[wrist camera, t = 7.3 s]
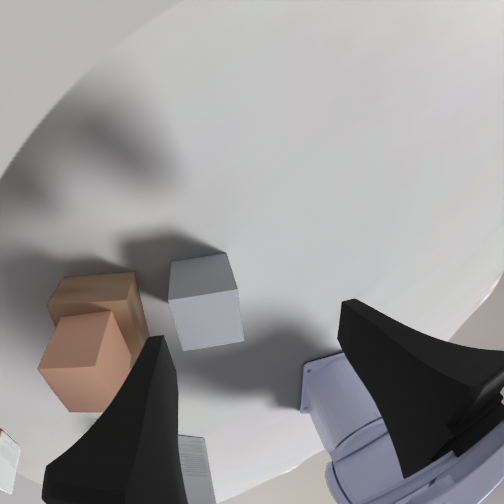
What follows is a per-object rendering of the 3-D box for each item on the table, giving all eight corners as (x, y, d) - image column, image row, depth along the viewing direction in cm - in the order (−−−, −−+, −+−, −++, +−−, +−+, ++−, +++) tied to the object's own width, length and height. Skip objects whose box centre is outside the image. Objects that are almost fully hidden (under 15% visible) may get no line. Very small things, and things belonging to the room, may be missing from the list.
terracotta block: (131, 355, 18) (124, 411, 14) (84, 359, 18) (69, 412, 13) (111, 310, 17) (95, 366, 12) (61, 317, 16) (37, 368, 12)
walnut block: (149, 333, 23) (146, 367, 19) (86, 336, 22) (75, 368, 18) (135, 269, 20) (126, 300, 17) (65, 275, 19) (46, 304, 15)
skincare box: (195, 456, 32) (206, 530, 22) (164, 453, 31) (171, 529, 20) (206, 437, 30) (221, 521, 20) (172, 433, 29) (180, 521, 18)
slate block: (232, 299, 23) (244, 341, 18) (181, 307, 22) (182, 351, 18) (226, 252, 21) (237, 289, 16) (171, 261, 20) (168, 300, 16)
